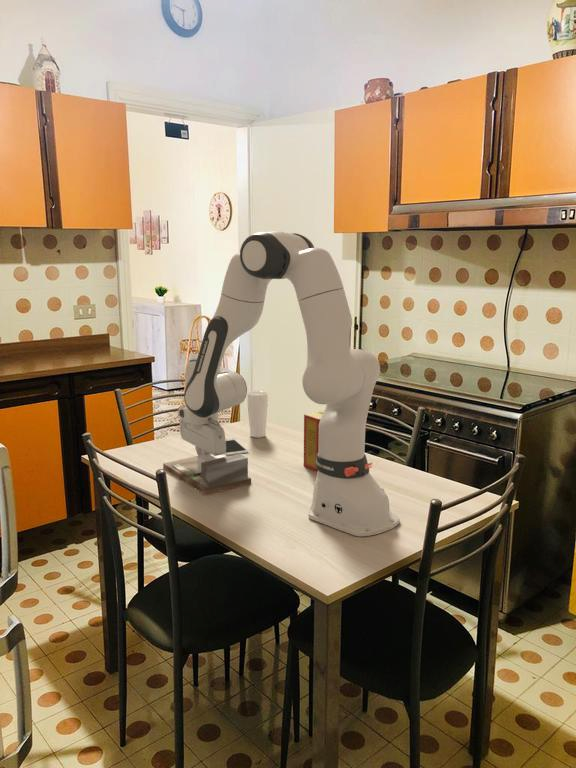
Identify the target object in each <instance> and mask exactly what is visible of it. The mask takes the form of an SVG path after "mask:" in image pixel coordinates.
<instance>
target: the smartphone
mask: <svg viewBox="0 0 576 768" xmlns="http://www.w3.org/2000/svg"><path fill="white" fill-rule="evenodd" d="M225 440H226V452H225V454H224V455H225V456H226V457H229V456H233V455H238V454H241V455H244V454H249V450H248V449H246V448H245V447H244V446H243V445H242V444H241V443H240V442H239V441H237V440H236V439H235V438H225Z"/></svg>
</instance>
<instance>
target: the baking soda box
mask: <svg viewBox="0 0 576 768" xmlns="http://www.w3.org/2000/svg"><path fill="white" fill-rule="evenodd" d="M324 411H325V410H320V411H316V412H309V413H306V414H303V467H305V468H307V469H309V470H311V471H313V472H314V471H315V473H318V470H317V468H316V458H317V453H318V446H319V422H320V419H321V417H322V415H323V413H324Z"/></svg>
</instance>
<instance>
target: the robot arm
mask: <svg viewBox="0 0 576 768" xmlns="http://www.w3.org/2000/svg"><path fill="white" fill-rule="evenodd" d="M285 279H287V280H289V281H290V282H291V284H292V285H293V288H294V291H295V293H296V294H295V295H296V298H297V299H296V300H297V302H298V306H299V310H300V313H301V318H302V321H303V325H304V329H305V335H306V343H307V346H306V347H307V348H306V350H307V351H306V352H307V354H306V355H307V358H306V359H307V360H306V367H305V370H304V373H303V375H302V388H303V390H304V394H305V395H306V396H307V398H308V399H309V400H310V401H312V402H313V403H315V404H318V405H326V406H325V408H324V410H323V411H324V413H323V415H322V417H321V419H320V422H319V446H318V453H317V458H316V468H317V470H318V472H316V473H317V474H316V478H315V482H314V484H313V485H314V487H313V493H312V501H311V505H310V511H309V512H308V519H310V520H312V521H315V522H317V523H321V524H323V525H325V526H329V527H330V528H334V529H336V530H339V531H341V532H344V533H347V534H350V535H352V536H355V537H368V536H369V537H370V536H374V535H378V534H381V533H384V532H387V531H390V530H392V529H394V528H395V527H396V526H398V525H399V524H400V519H401V518H400V517H399V516H398V515H397V514H395V513H393V512H391V511H390V510H391V509H390V499H389V496H388V494H387V493H386V492H385V490H384V488H383V487H381V486H380V485H379V484H378V482H377V481H376V480H375V478H374V477H373V476H372V475H371V473H370V469H371V468H373V466H372V465H373V462H369V463H368V458H367V456H366V454H365V447H366V446H365V445H366V444H365V443H366V428H367V427H366V425H367V418H368V413H369V409H370V405H371V402H372V399H373V398H372V397H373V392H374V388H375V386H376V383H377V381H378V379H379V378H380V374H381V366H380V362H379V360H378V358H377V356H375V354H373V353H372V352H370V350H369V351H368V350H365V349H359V348H351V343H350V341H351V340H350V339H351V338H350V334H351V328H352V325H353V317H352V314H351V310H350V306H349V303H348V298H347V295H346V292H345V289H344V286H343V285H344V284H343V281H342V278H341V275H340V273H339V271H338V268H337V265H336V264H335V261H334V260H333V258H332V255H331V254H330V252H329V251H327V249H324V248H321V247H315V245H314V244H313V243H312V241H311V240H310V239H308V238H307V237H306V236H305V235H302V234H299V233H296V232H295V233H293V232H290V233H289V232H284V231H281V230H280V231H278V230H277V231H267V232H266V231H260V232H256V233H253V234H250V235H249V236H248V237H246V239H245V240H243V242H242V244H241V245H240V249H239V252H237V253H235V254H234V255H233V256H232V257H231V259H230V261H229V264H228V266H227V269H226V273H225V276H224V279H223V283H222V289H221V292H220V298H219V302H218V304H217V307H216V310H215V312H214V314H213V316H212V318H211V319H210V321H209V322H208V324H207V325H206V328H205V332H204V335H203V338H202V341H201V344H200V346H199V347H200V348H199V351H198V355H197V358H192V359H190V360H188V361H187V362H186V365H185V370H184V371H185V372H184V393H183V395H184V396H183V397H184V398H183V399H184V403H185V407H182V408H179V409H178V410H177V411H178V412H177V414H178V416H179V432H180V433H179V434H180V437H181V439H182V440H184V441H185V442H187V443H189V444H191V445H192V446H195V447H194V448H195V452H196V454H197V455H196V456H200V455H205V454H209V453H210V454H212V455H214V456H217V455H226V454H225V452H226V440H225V439H226V434H225V430H224V428H223V427H222V426H221V422H220V421H219V412H222V411H225V410H228V409H230V408H231V409H232V408H234V407H237V406H239V405H240V404H242V403H243V402H244V401H245V400H246V397H247V396H248V387H247V386H248V385H247V382H246V380H245V379H244V377H243V376H242V375H241V374H240V373H239V372H236V371H232V370H230V369H228V368H226V367H224V366H222V362H223V359H224V355H225V352H226V351H227V349H228V347H229V346H230V345H231V344H232V343H233V342H235V340H237V339H238V338H239V337H240V336H243V335H244V334H245V333H248V332H249V331H250V330H252V329H254V327H256V325H257V324H258V323H259V321H260V319H261V316H262V314H263V310H264V305H265V300H266V295H267V290H268V285H269V284H270V282H271V281H272V280H285Z"/></svg>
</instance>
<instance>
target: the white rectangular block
mask: <svg viewBox="0 0 576 768" xmlns="http://www.w3.org/2000/svg"><path fill="white" fill-rule="evenodd" d="M196 456H197V467H198V473H196V474H194V476H197V475H201V463H202V462H206V461H211V460H215V459H220V458H224V457H226V455H224V454H222V455H217V456H214V455H212V454H210V453H209V454H205V455H200V456H198V455H196Z"/></svg>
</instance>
